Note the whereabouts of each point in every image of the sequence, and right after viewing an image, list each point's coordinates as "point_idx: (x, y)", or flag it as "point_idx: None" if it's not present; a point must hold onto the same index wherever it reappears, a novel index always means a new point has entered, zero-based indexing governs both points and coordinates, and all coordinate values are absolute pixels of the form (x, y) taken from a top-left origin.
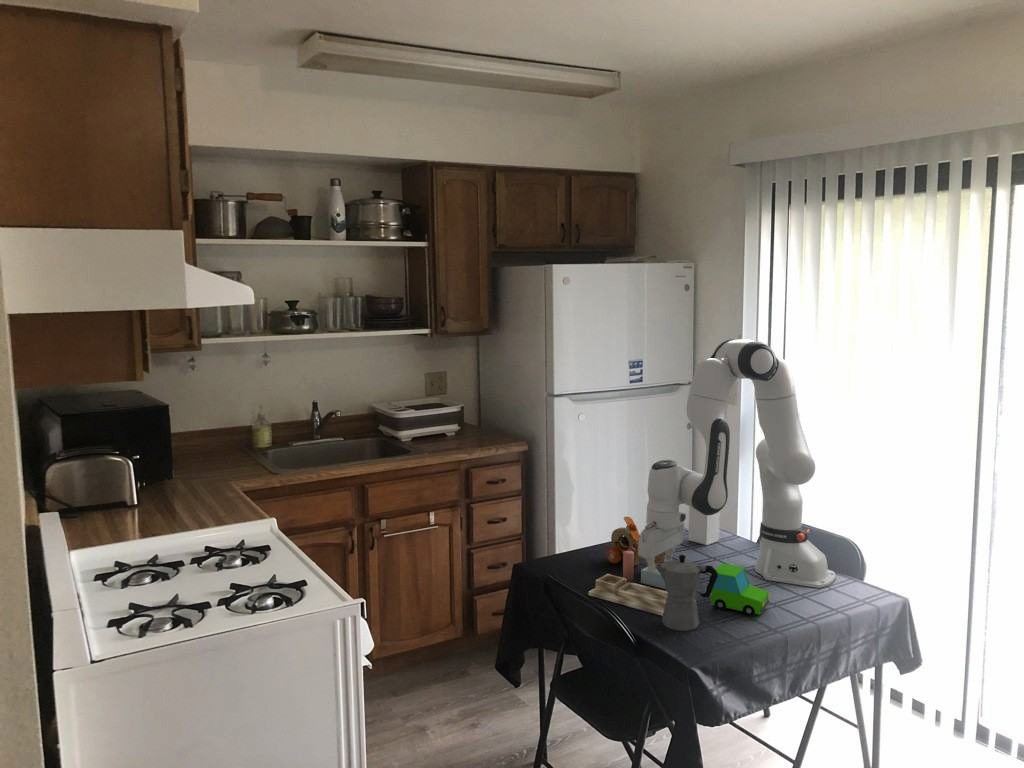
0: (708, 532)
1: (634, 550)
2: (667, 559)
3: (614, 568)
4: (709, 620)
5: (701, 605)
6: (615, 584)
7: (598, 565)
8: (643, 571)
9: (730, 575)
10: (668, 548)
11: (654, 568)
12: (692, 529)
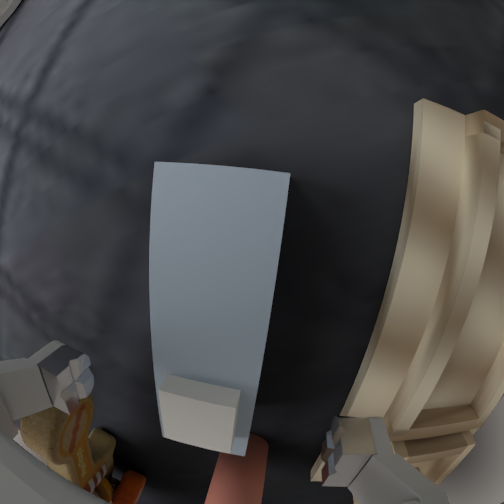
0: None
1: (93, 480)
2: (76, 379)
3: (176, 476)
4: (495, 7)
5: (402, 22)
6: (469, 446)
7: (187, 498)
8: (246, 443)
9: None
10: (57, 498)
11: (368, 428)
12: None
